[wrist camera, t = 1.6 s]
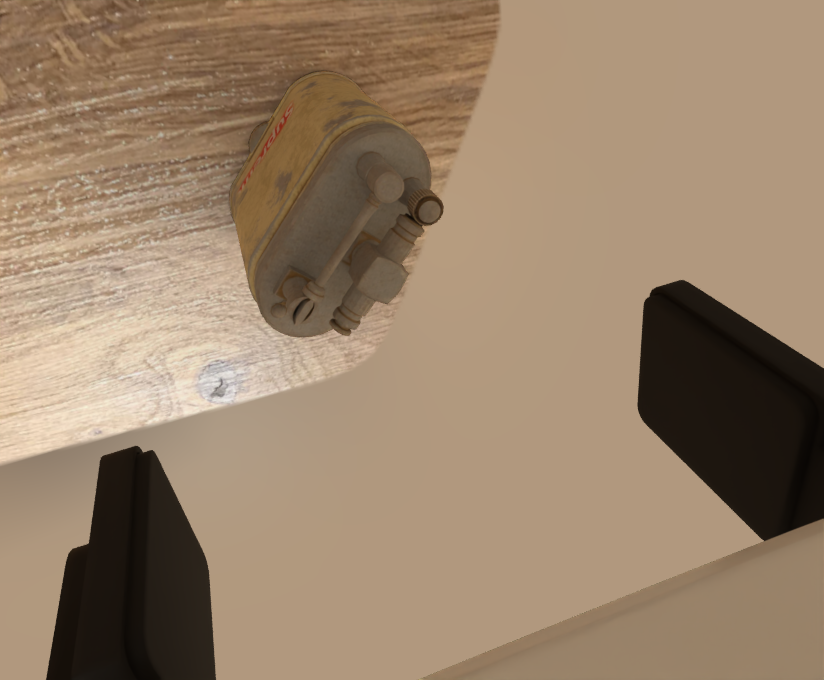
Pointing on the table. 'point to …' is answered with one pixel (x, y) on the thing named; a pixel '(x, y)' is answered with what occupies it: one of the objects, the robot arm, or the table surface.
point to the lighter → (329, 207)
